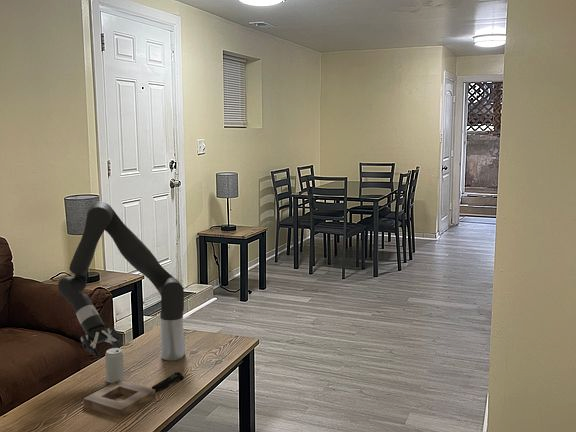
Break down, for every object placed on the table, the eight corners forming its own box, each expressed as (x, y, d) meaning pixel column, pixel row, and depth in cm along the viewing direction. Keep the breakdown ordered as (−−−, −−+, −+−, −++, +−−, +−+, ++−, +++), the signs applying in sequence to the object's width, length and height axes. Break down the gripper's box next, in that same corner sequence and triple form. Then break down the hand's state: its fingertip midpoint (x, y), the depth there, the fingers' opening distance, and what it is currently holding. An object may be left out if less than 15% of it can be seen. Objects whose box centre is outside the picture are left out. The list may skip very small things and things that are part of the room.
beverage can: (118, 385, 214) (117, 354, 212) (103, 383, 215) (101, 352, 213) (127, 378, 220) (126, 348, 218) (111, 376, 221) (110, 346, 219)
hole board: (119, 387, 212) (119, 379, 211) (155, 397, 204) (155, 389, 204) (83, 406, 197) (83, 398, 196) (121, 418, 189) (120, 409, 189)
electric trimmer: (148, 393, 209) (148, 385, 208) (176, 377, 222) (176, 369, 221) (156, 395, 207) (156, 387, 206) (184, 379, 220) (184, 371, 219)
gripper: (77, 318, 216) (96, 355, 210) (109, 309, 227) (128, 344, 222) (69, 329, 220) (88, 365, 214) (102, 320, 231) (120, 354, 226)
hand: (108, 354), depth 218 cm, fingers open, 8 cm apart
